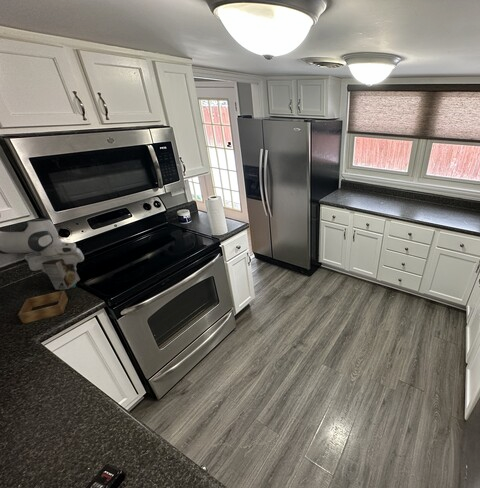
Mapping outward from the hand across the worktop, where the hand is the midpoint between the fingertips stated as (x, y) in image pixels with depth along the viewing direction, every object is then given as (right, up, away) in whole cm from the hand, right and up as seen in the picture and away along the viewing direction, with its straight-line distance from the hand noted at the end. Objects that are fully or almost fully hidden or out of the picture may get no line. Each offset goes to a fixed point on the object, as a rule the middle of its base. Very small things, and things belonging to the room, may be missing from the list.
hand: (63, 272), depth 138 cm
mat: (0, -7, +4) cm, 8 cm away
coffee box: (0, -7, +3) cm, 8 cm away
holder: (+7, -16, -15) cm, 23 cm away
